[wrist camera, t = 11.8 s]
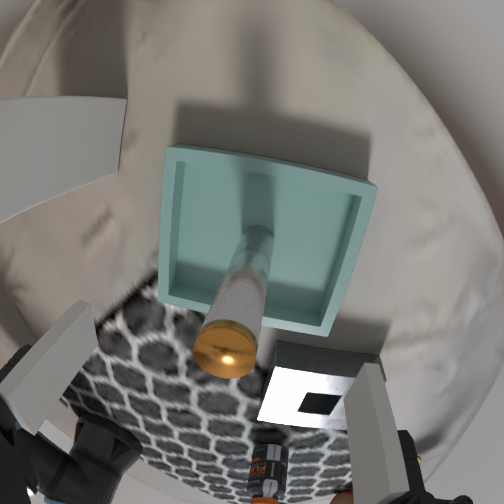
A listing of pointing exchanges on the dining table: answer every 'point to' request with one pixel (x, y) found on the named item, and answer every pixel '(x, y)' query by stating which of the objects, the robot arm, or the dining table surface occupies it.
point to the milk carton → (55, 146)
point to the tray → (265, 214)
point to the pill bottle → (268, 474)
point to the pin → (237, 309)
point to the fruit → (343, 498)
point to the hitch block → (310, 385)
